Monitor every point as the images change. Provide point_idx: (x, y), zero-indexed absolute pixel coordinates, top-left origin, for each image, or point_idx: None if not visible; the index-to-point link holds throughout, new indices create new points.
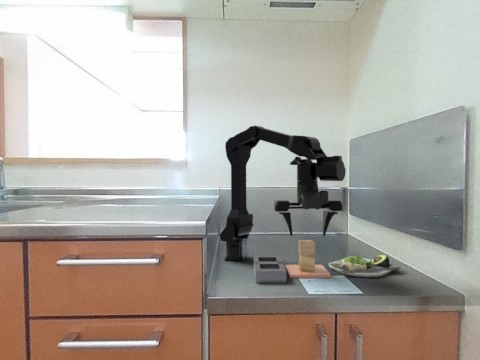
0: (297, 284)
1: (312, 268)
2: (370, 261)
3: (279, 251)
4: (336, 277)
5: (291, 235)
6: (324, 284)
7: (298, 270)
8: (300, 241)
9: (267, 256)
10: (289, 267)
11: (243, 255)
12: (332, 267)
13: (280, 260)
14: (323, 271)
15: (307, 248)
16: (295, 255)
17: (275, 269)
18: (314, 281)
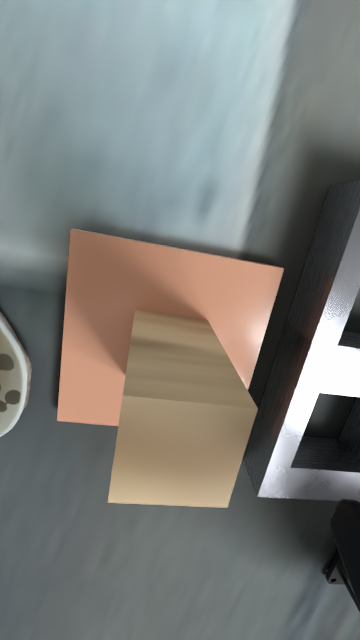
0: (289, 145)
1: (148, 316)
2: None
3: (166, 630)
4: (40, 229)
5: (353, 501)
6: (151, 109)
7: None
8: (233, 463)
9: (320, 483)
10: None
11: (334, 572)
12: (19, 351)
13: (294, 409)
14: (90, 299)
15: (190, 374)
16: (121, 582)
17: None
18: (184, 180)
